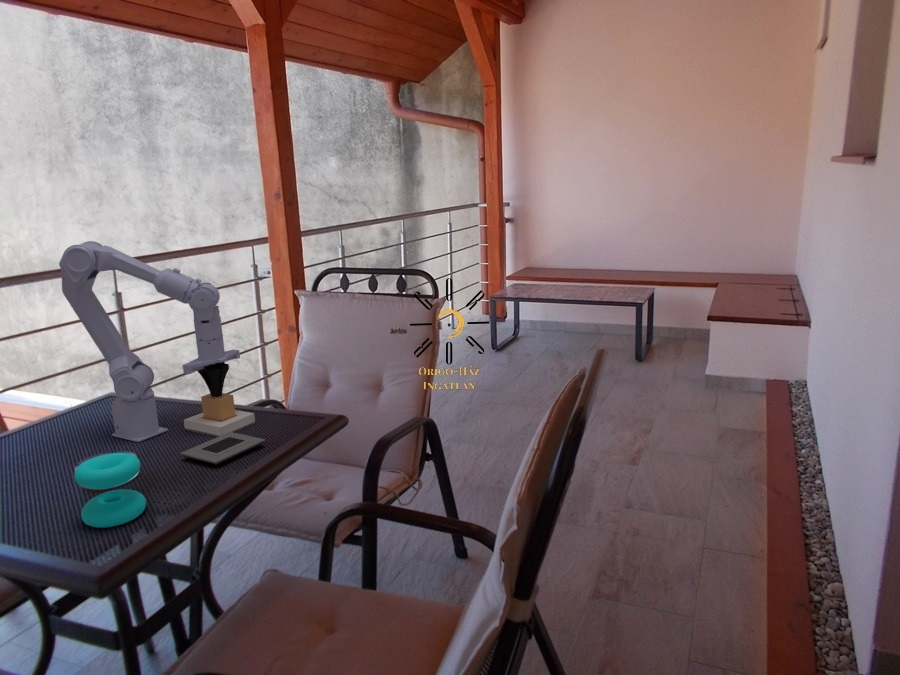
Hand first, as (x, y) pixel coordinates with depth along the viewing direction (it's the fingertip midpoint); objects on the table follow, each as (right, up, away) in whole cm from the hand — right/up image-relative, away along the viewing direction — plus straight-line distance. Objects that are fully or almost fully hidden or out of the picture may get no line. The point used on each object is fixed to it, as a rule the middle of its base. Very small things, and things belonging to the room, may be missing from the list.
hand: (216, 396), depth 157 cm
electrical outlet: (+6, -11, -14) cm, 19 cm away
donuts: (-4, -17, -40) cm, 44 cm away
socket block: (0, -7, +2) cm, 7 cm away
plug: (0, -7, +2) cm, 7 cm away
